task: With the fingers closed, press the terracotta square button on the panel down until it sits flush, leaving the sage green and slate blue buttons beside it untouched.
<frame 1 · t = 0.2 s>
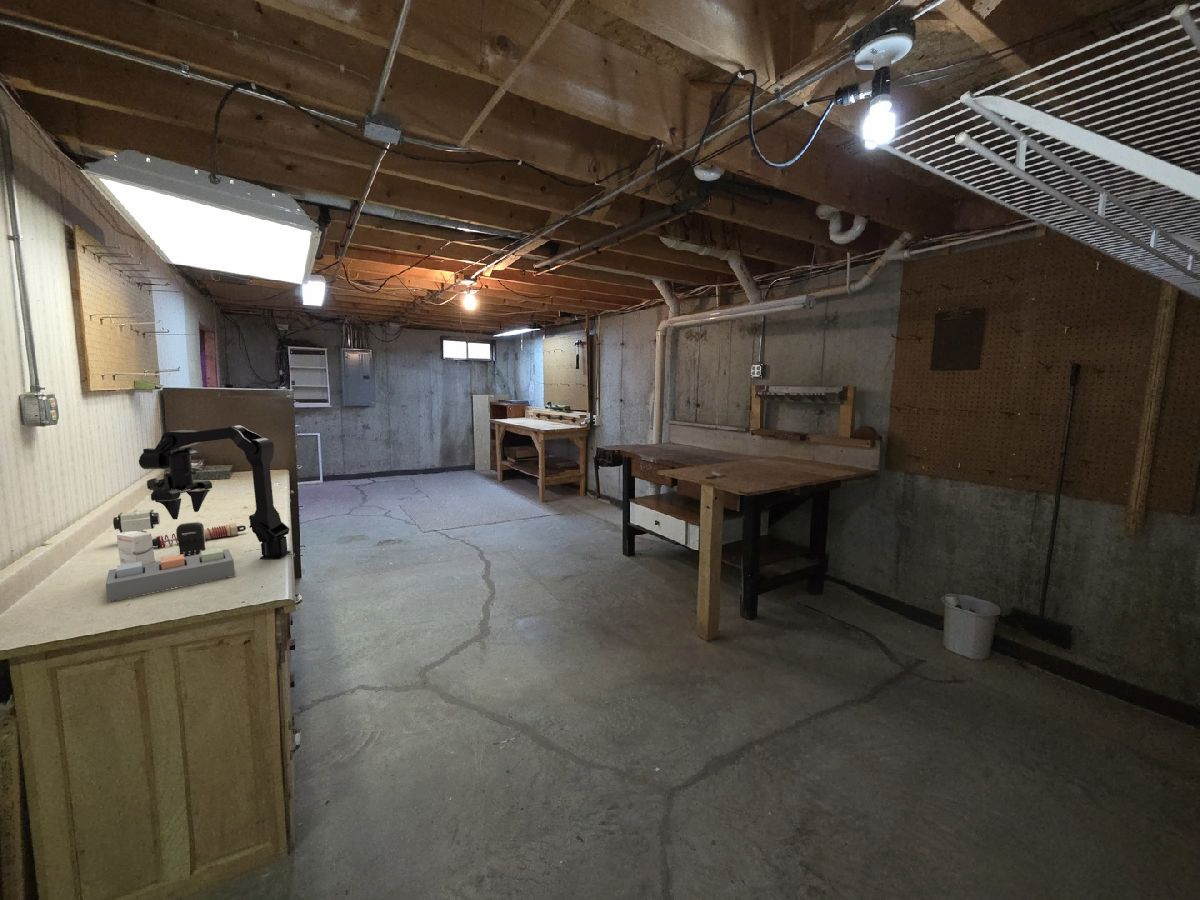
hand: (186, 515, 159), 14 cm above the table, tool pointing down, fingers open, 9 cm apart
shock absorber: (196, 542, 177), on the table
button panel: (175, 581, 141), on the table
terracotta button: (173, 564, 141), point 5 cm above the table, slide at 0.0 cm
battery charger: (192, 557, 162), on the table
ink box: (138, 570, 149), on the table
sage button: (212, 557, 147), point 5 cm above the table, slide at 0.0 cm
slate button: (130, 572, 135), point 5 cm above the table, slide at 0.0 cm
pneumatic valve: (139, 542, 176), on the table
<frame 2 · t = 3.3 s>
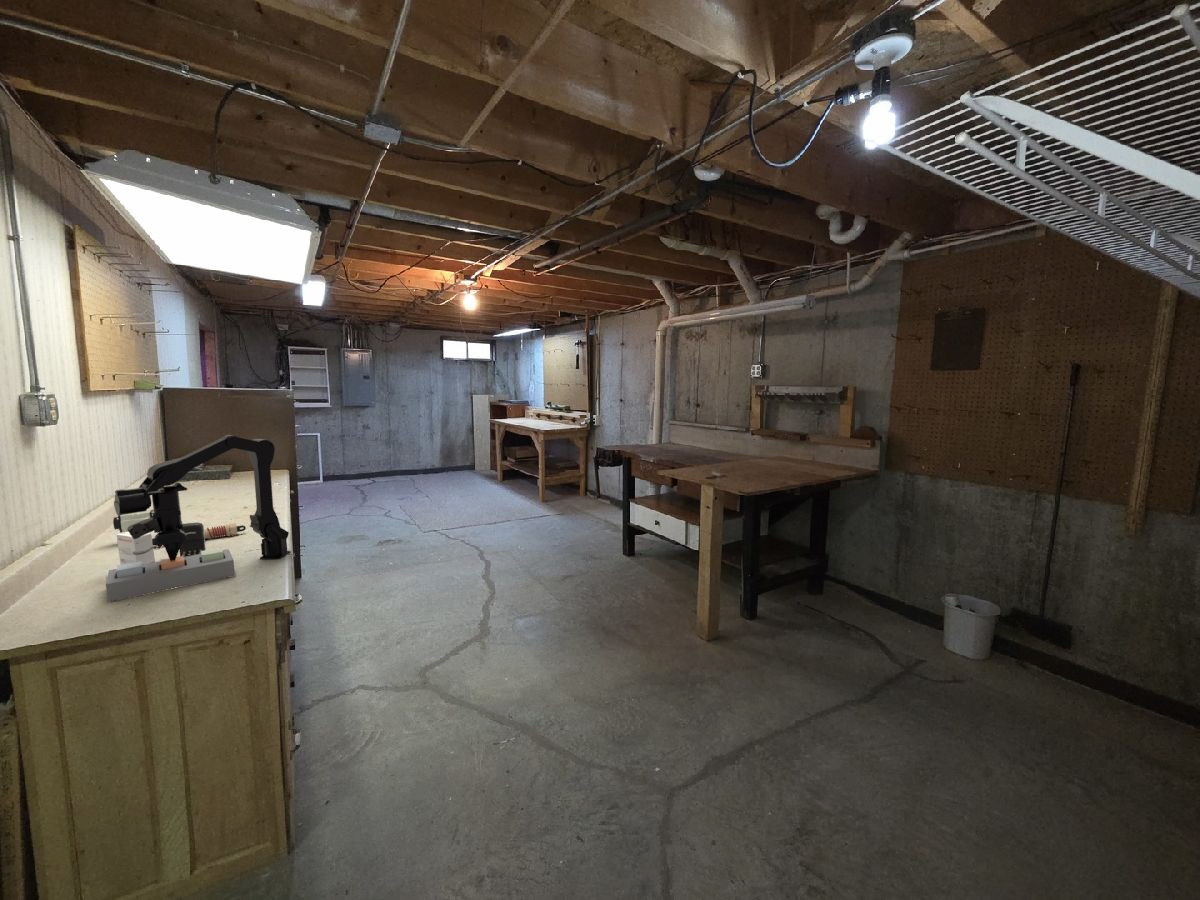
hand: (172, 560, 140), 6 cm above the table, tool pointing down, fingers closed, pressing on terracotta button
terracotta button: (173, 566, 141), point 4 cm above the table, slide at 0.5 cm, touching gripper
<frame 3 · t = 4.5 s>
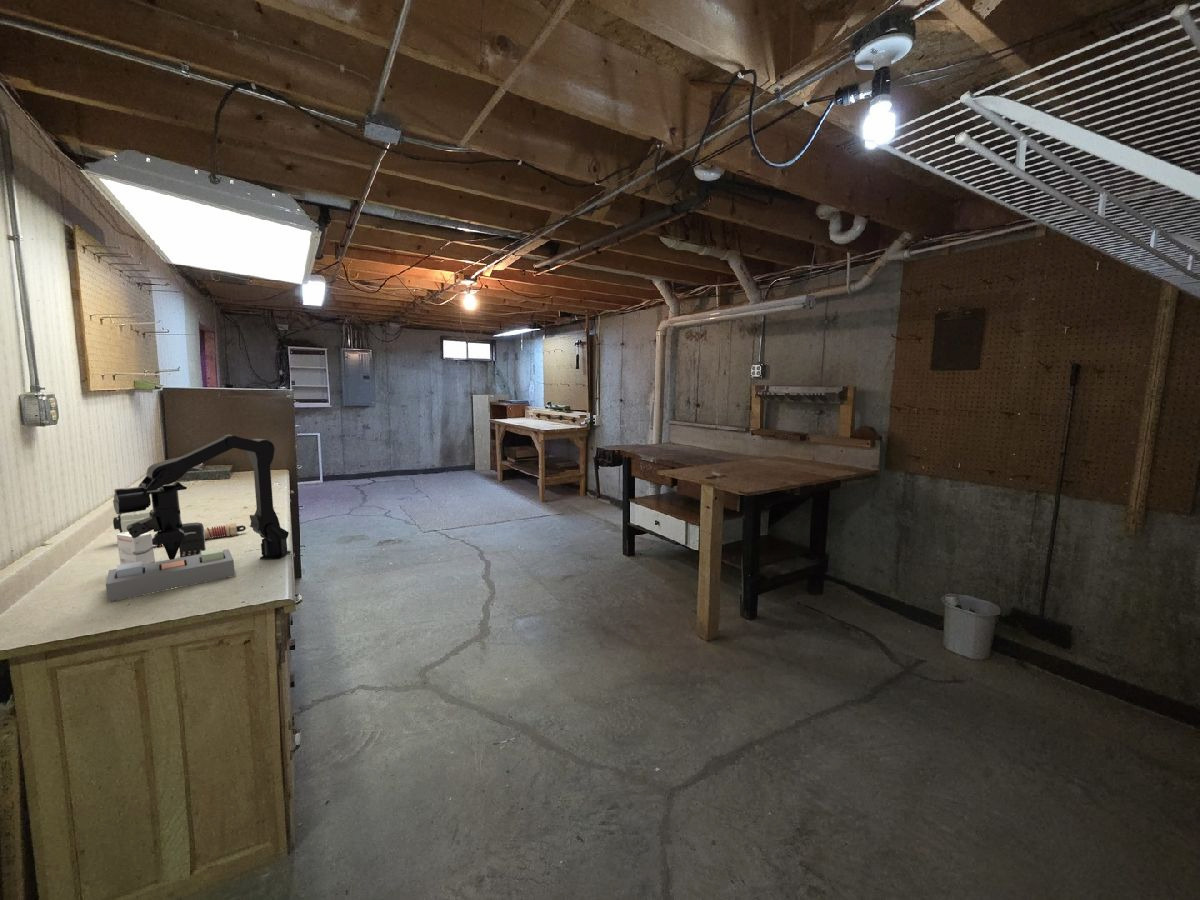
hand: (172, 559, 140), 7 cm above the table, tool pointing down, fingers closed
terracotta button: (173, 571, 141), point 3 cm above the table, slide at 1.9 cm
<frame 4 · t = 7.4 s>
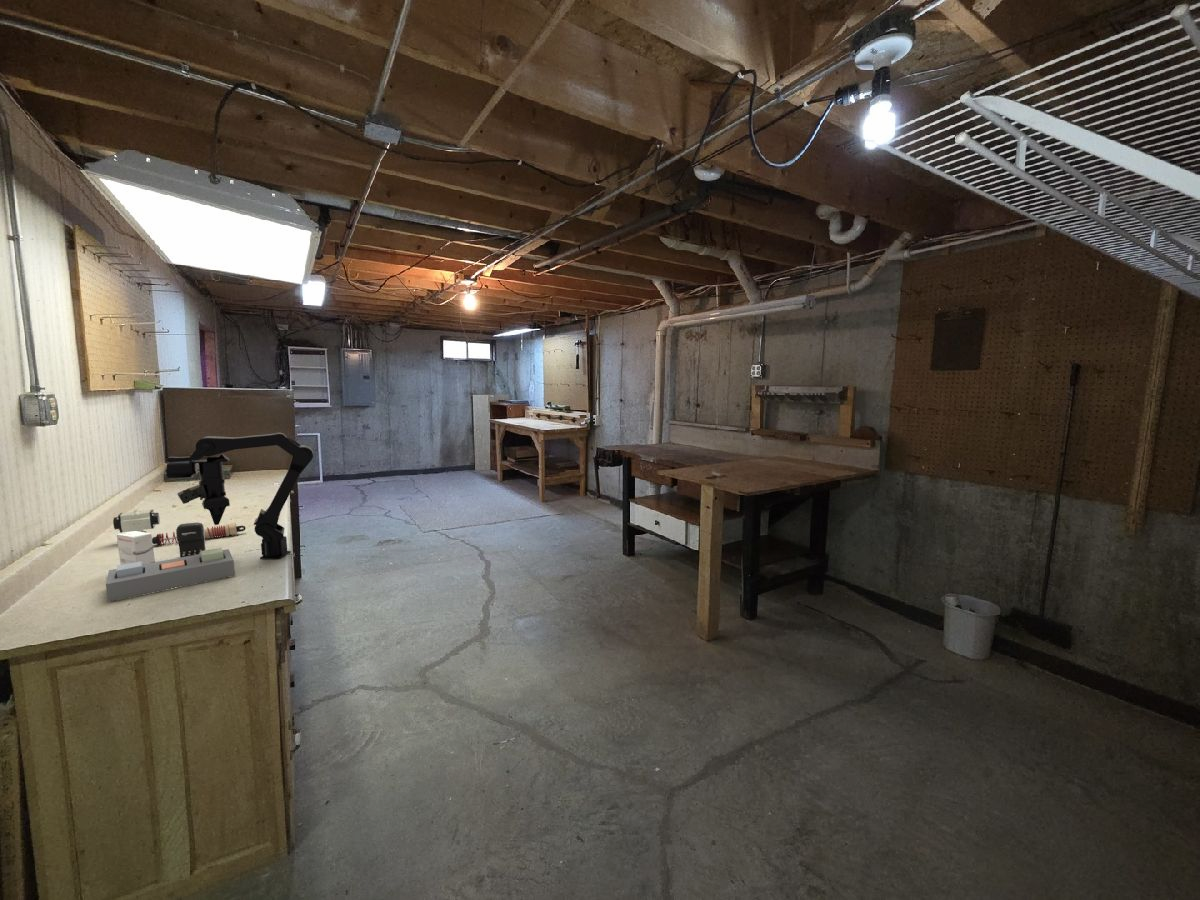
hand: (216, 524, 154), 13 cm above the table, tool pointing down, fingers closed
at the end: terracotta button slide at 1.9 cm; sage button slide at 0.0 cm; slate button slide at 0.0 cm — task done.
